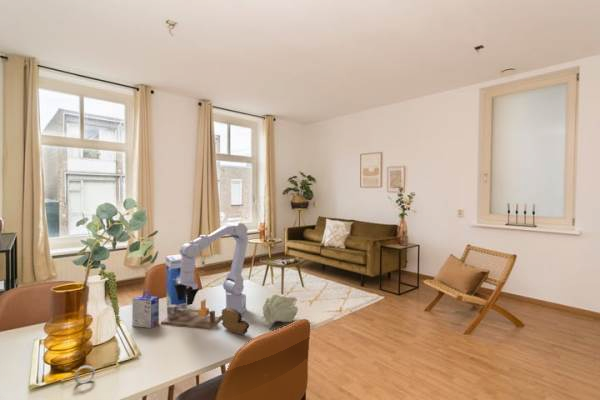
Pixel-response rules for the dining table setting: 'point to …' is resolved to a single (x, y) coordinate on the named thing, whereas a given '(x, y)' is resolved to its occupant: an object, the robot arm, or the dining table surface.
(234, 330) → the wooden carving
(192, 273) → the robot arm
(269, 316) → the folded clay sculpture
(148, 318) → the ink cartridge box
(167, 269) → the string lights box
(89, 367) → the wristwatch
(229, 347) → the dining table surface
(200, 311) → the orange plastic bracket
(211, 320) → the cord rail
